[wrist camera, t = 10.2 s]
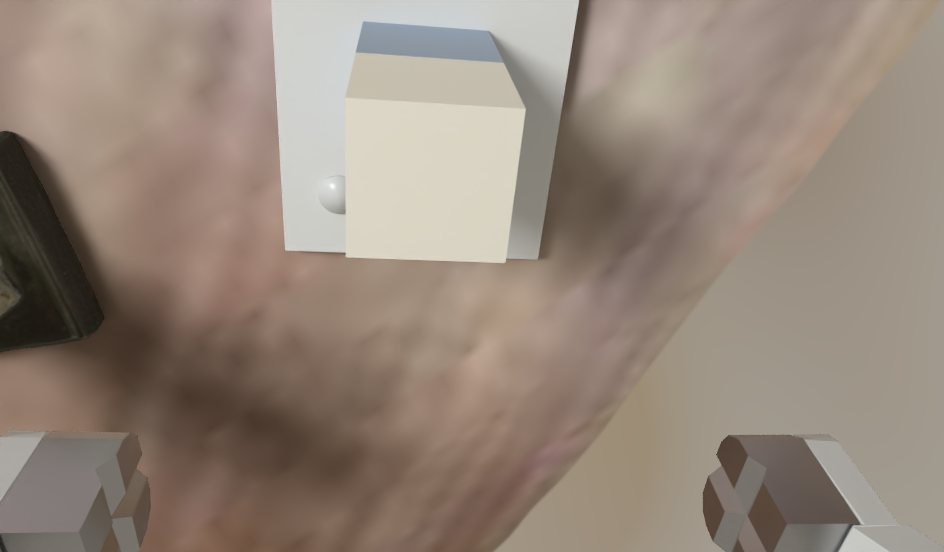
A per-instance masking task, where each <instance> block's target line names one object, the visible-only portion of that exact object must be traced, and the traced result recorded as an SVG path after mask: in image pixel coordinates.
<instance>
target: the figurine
mask: <svg viewBox="0 0 944 552" xmlns="http://www.w3.org/2000/svg"><path fill="white" fill-rule="evenodd" d="M103 320H104V317H103V315H102V312H101V310H100V307H99V305H98V303H97V300H96V298H95V296H94V294H93V292H92V290H91V288H90V286H89V284H88V282H87V280H86V278H85V275H84V272H83V270H82V267H81V265H80V263H79V261H78V259H77V257H76V255H75V253H74V251H73V249H72V247H71V245H70V242H69V240H68V238H67V236H66V234H65V233H64V231H63V229H62V227H61V225H60V223H59V221H58V219H57V216H56V214H55V212H54V210H53V208H52V205H51V203H50V201H49V199H48V197H47V195H46V193H45V191H44V188H43V186H42V185H41V183H40V181H39V180H38V178H37V176H36V175H35V173H34V172H33V170H32V168H31V166H30V164H29V162H28V160H27V158H26V156H25V154H24V152H23V150H22V148H21V147H20V145H19V143H18V142H17V140H16V139H15V137H14V136H13V134H12V133H11V132H8V131H2V132H0V352H3V351H9V350H16V349H22V348H34V347H41V346H48V345H55V344H62V343H67V342H73V341H79V340H83V339H85V338H87V337H89V336H90V335H91V334H92V333H93V332H95V331H96V330H97V329H98V328H99V326H100V325H101V323H102V322H103Z"/></svg>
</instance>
